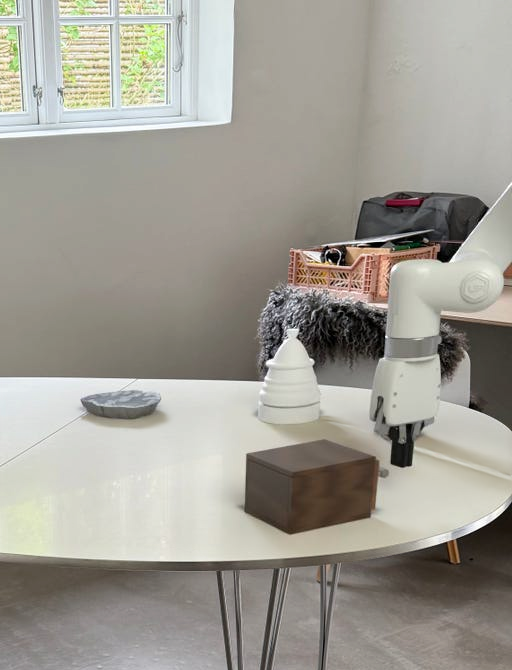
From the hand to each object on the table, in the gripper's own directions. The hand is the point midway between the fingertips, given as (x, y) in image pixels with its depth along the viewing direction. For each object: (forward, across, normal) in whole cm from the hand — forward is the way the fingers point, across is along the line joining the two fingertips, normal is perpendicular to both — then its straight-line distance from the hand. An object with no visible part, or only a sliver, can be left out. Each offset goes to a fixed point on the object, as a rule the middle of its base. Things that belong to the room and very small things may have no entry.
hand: (400, 465), depth 152 cm
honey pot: (+5, -17, -55) cm, 58 cm away
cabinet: (+5, +17, 0) cm, 18 cm away
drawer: (+4, +13, 0) cm, 14 cm away
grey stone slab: (+5, +8, -83) cm, 84 cm away
